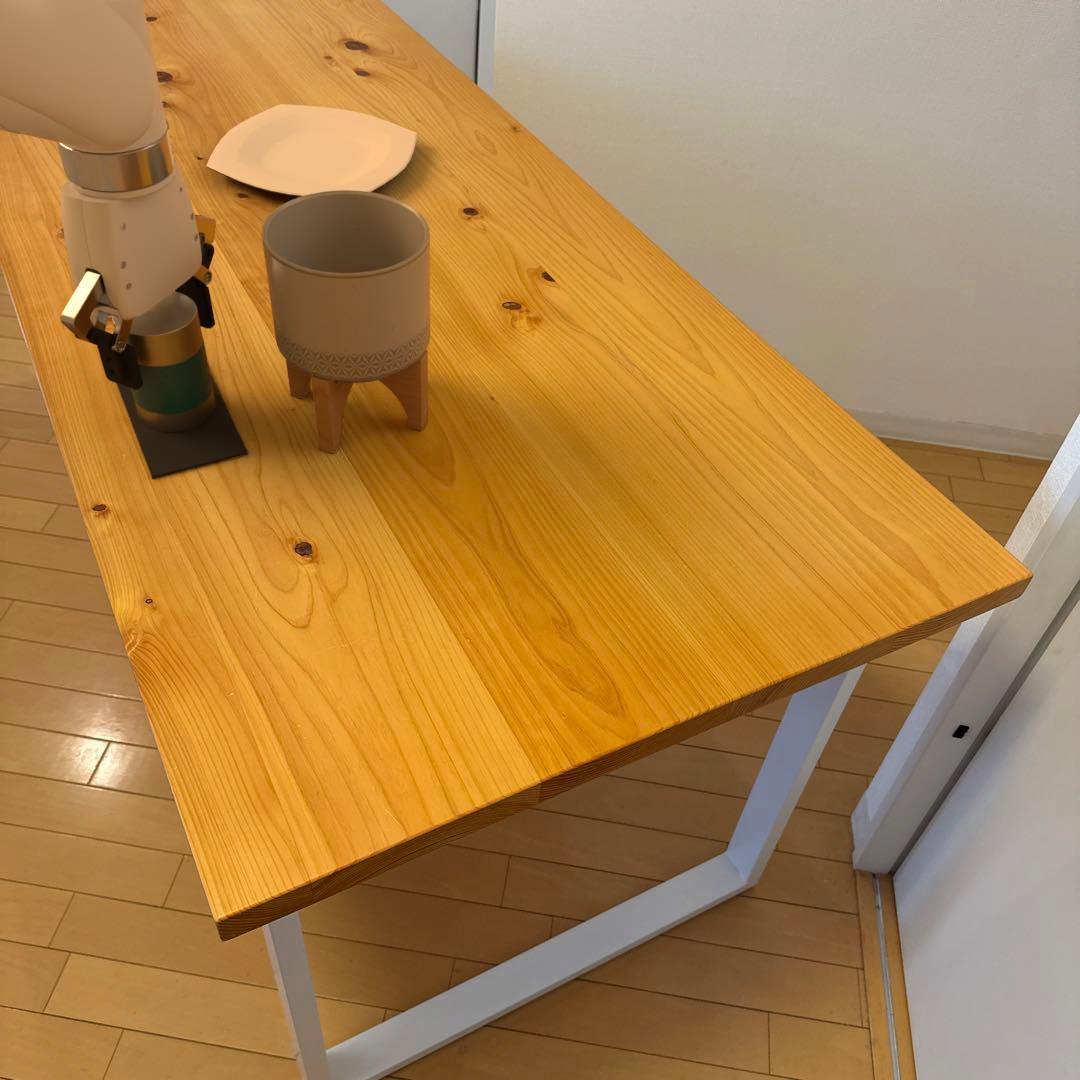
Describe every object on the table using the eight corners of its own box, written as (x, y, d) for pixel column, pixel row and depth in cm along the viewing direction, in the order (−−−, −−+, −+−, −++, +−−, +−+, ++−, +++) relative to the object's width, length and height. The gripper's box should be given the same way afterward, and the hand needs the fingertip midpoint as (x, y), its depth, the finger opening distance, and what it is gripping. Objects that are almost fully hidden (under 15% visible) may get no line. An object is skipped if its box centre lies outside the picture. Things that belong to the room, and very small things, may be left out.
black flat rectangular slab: (248, 454, 86) (247, 451, 86) (152, 479, 83) (151, 476, 83) (199, 351, 95) (198, 348, 95) (111, 370, 93) (110, 367, 92)
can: (121, 418, 88) (93, 320, 80) (169, 377, 92) (146, 281, 85) (185, 441, 86) (163, 344, 79) (231, 398, 91) (213, 303, 83)
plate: (182, 185, 117) (179, 169, 116) (275, 108, 133) (273, 93, 131) (366, 227, 114) (365, 210, 112) (439, 143, 129) (439, 128, 128)
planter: (326, 352, 97) (309, 177, 84) (451, 386, 95) (454, 210, 82) (259, 432, 88) (229, 250, 75) (395, 471, 86) (389, 290, 73)
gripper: (150, 101, 79) (188, 291, 91) (-14, 192, 68) (54, 395, 80) (232, 123, 77) (259, 313, 90) (77, 220, 66) (133, 423, 78)
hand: (163, 352), depth 85 cm, fingers open, 9 cm apart
